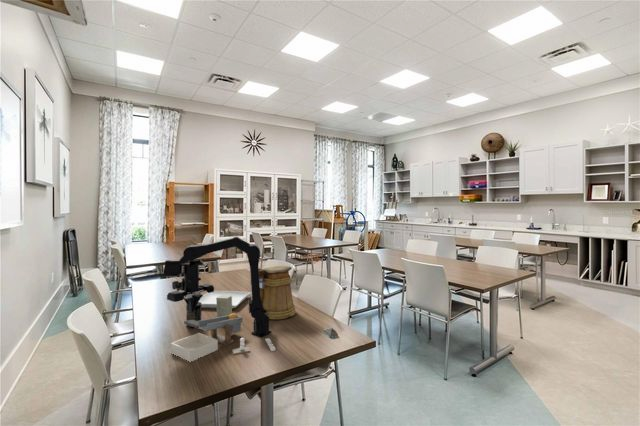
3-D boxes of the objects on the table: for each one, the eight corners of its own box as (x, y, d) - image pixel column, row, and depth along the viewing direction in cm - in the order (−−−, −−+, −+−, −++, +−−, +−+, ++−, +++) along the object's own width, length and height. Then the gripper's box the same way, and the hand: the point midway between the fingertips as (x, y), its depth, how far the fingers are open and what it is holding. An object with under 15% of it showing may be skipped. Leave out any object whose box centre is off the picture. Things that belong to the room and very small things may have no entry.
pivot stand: (216, 335, 138) (216, 318, 138) (233, 341, 132) (233, 324, 132) (208, 338, 135) (208, 321, 134) (225, 345, 129) (225, 327, 128)
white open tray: (217, 349, 125) (217, 339, 124) (189, 362, 114) (189, 351, 114) (198, 342, 131) (198, 332, 131) (170, 353, 121) (170, 343, 121)
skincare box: (232, 320, 156) (232, 296, 156) (227, 323, 152) (227, 298, 151) (221, 319, 158) (221, 294, 157) (216, 322, 153) (216, 297, 153)
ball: (238, 322, 139) (239, 313, 139) (232, 322, 136) (233, 314, 136) (232, 320, 141) (234, 312, 141) (226, 320, 138) (228, 312, 138)
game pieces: (234, 359, 118) (234, 344, 118) (230, 344, 130) (230, 330, 130) (341, 340, 135) (341, 327, 135) (329, 329, 147) (329, 317, 147)
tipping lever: (218, 323, 147) (219, 310, 148) (241, 330, 138) (242, 317, 139) (183, 330, 132) (184, 316, 133) (206, 339, 123) (208, 324, 124)
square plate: (252, 297, 197) (252, 291, 196) (236, 312, 169) (236, 304, 169) (210, 295, 199) (210, 289, 199) (188, 310, 172) (188, 302, 172)
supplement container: (201, 327, 147) (201, 305, 146) (185, 329, 144) (185, 307, 144) (201, 322, 153) (201, 301, 153) (186, 324, 150) (186, 302, 150)
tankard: (299, 317, 160) (300, 269, 160) (252, 323, 152) (253, 272, 152) (290, 307, 177) (291, 262, 177) (248, 311, 169) (248, 265, 169)
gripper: (199, 269, 145) (199, 303, 145) (159, 277, 129) (159, 315, 129) (214, 272, 138) (214, 307, 139) (174, 281, 123) (175, 320, 123)
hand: (191, 312), depth 133 cm, fingers closed
